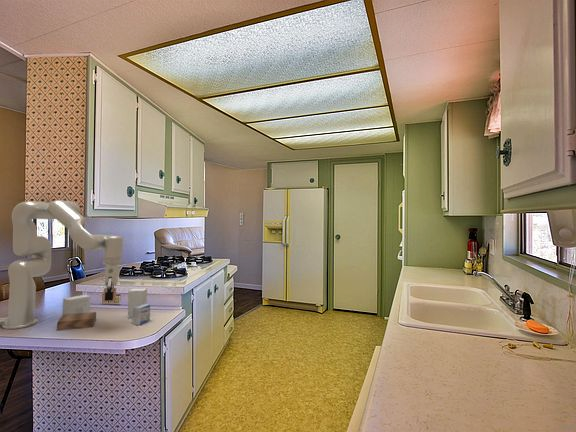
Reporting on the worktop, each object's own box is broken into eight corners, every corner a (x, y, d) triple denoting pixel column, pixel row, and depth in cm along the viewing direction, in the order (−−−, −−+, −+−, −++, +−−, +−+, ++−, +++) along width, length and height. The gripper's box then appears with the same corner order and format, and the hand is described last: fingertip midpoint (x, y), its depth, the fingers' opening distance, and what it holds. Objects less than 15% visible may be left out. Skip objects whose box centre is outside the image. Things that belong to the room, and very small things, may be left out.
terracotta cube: (102, 301, 138) (103, 290, 138) (103, 298, 142) (104, 288, 142) (114, 300, 140) (115, 290, 140) (115, 298, 144) (116, 287, 144)
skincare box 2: (146, 314, 164) (148, 287, 164) (143, 317, 158) (144, 290, 158) (130, 314, 162) (131, 287, 163) (126, 318, 156) (128, 290, 157)
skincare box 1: (83, 313, 162) (84, 294, 162) (89, 315, 159) (90, 296, 159) (61, 318, 153) (62, 298, 153) (67, 320, 150) (69, 299, 150)
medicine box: (139, 325, 146) (140, 308, 146) (131, 324, 147) (132, 307, 147) (149, 320, 154) (150, 304, 154) (142, 320, 155) (143, 303, 155)
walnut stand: (56, 330, 135) (57, 321, 135) (62, 322, 146) (63, 314, 146) (92, 326, 142) (93, 318, 142) (95, 319, 152) (96, 311, 152)
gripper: (120, 263, 136) (116, 303, 135) (122, 259, 151) (119, 294, 150) (101, 263, 132) (97, 304, 132) (105, 258, 148) (102, 295, 147)
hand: (109, 298), depth 141 cm, fingers closed on terracotta cube, 5 cm apart
